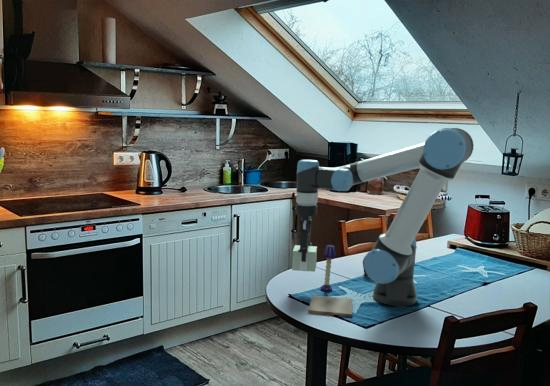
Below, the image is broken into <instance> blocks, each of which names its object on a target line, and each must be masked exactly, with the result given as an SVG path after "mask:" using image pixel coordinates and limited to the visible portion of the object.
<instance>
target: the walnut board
mask: <svg viewBox="0 0 550 386" xmlns="http://www.w3.org/2000/svg"><path fill="white" fill-rule="evenodd" d="M308 314H316V315H325V316H326V315H327V316H334V315H340V316H339V317H345V316H348V317H349V318H353V298H345V297H337V296H334V297H333V296H323V295H313V294H311V298H310V302H309V307H308ZM348 317H347V318H348Z"/></svg>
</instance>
